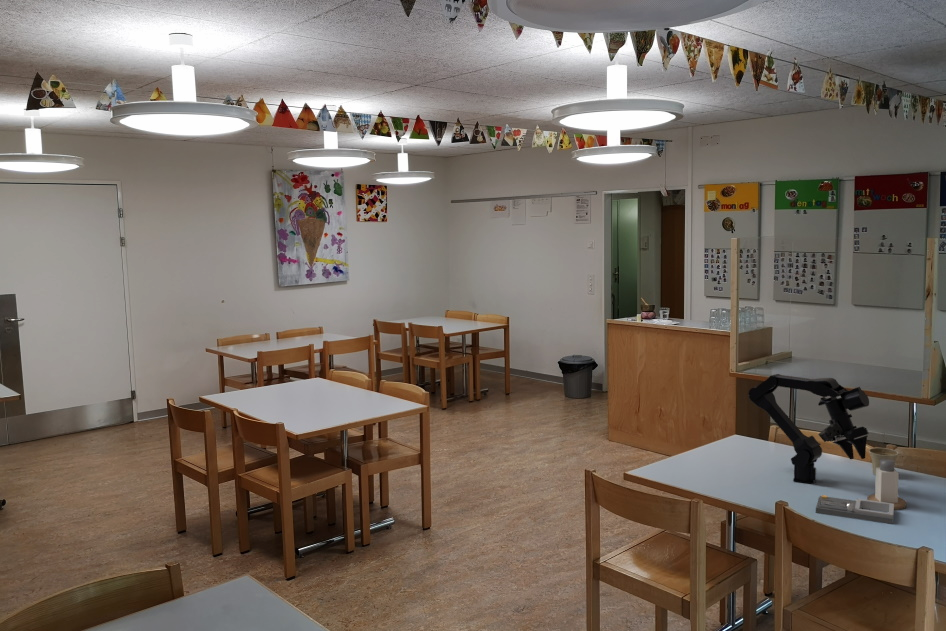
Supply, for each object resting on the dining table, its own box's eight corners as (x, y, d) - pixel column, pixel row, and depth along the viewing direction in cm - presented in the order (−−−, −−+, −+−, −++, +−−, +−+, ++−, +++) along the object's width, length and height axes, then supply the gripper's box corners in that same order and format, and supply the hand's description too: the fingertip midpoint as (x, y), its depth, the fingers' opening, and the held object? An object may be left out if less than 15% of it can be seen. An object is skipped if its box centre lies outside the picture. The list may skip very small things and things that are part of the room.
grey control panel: (815, 512, 234) (815, 504, 234) (819, 500, 244) (820, 492, 244) (892, 524, 223) (893, 515, 223) (893, 510, 234) (894, 502, 233)
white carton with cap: (880, 502, 238) (881, 462, 236) (875, 496, 243) (876, 458, 241) (897, 502, 237) (898, 463, 235) (891, 497, 242) (892, 458, 240)
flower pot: (895, 480, 261) (896, 456, 260) (865, 476, 266) (866, 452, 266) (899, 473, 268) (900, 450, 267) (870, 469, 274) (871, 446, 273)
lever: (817, 512, 234) (817, 500, 234) (818, 510, 236) (818, 498, 235) (852, 517, 229) (853, 504, 229) (853, 515, 231) (853, 503, 230)
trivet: (866, 506, 238) (866, 502, 238) (868, 495, 247) (868, 492, 247) (905, 511, 232) (906, 508, 232) (906, 500, 242) (906, 497, 242)
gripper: (806, 423, 262) (824, 466, 258) (826, 419, 244) (845, 466, 240) (836, 413, 262) (854, 456, 258) (859, 409, 243) (878, 455, 240)
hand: (857, 458), depth 249 cm, fingers open, 9 cm apart
